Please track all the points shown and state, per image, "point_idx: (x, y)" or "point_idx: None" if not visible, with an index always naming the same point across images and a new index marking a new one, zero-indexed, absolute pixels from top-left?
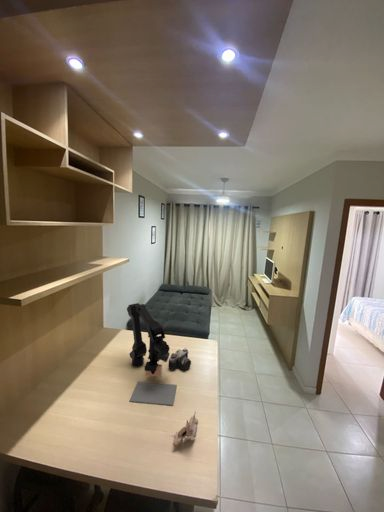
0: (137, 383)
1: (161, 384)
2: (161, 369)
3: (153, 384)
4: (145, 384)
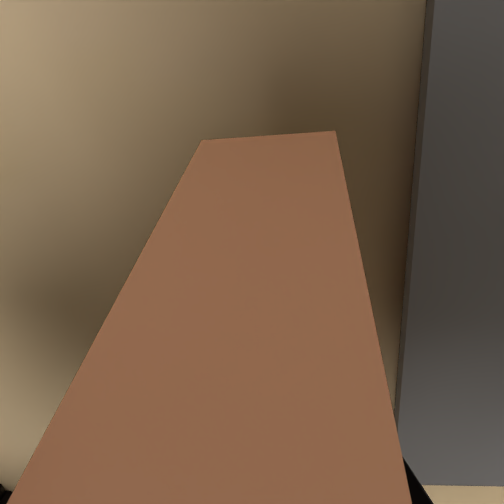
0: (445, 477)
1: (479, 21)
2: (266, 287)
3: (474, 235)
4: (476, 375)
